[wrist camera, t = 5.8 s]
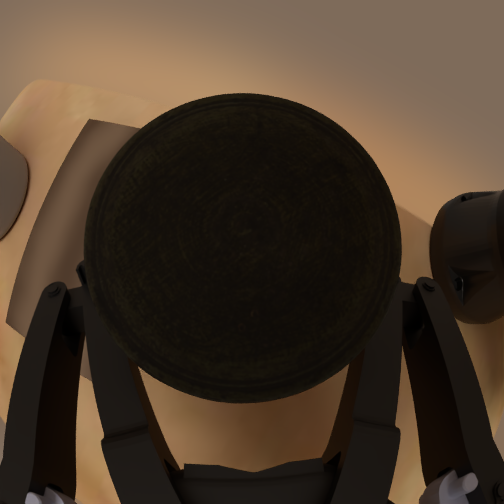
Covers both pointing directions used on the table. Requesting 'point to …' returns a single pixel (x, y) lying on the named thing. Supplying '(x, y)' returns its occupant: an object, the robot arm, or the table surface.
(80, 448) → the table surface
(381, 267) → the container
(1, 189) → the cylinder vase
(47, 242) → the shelf board
